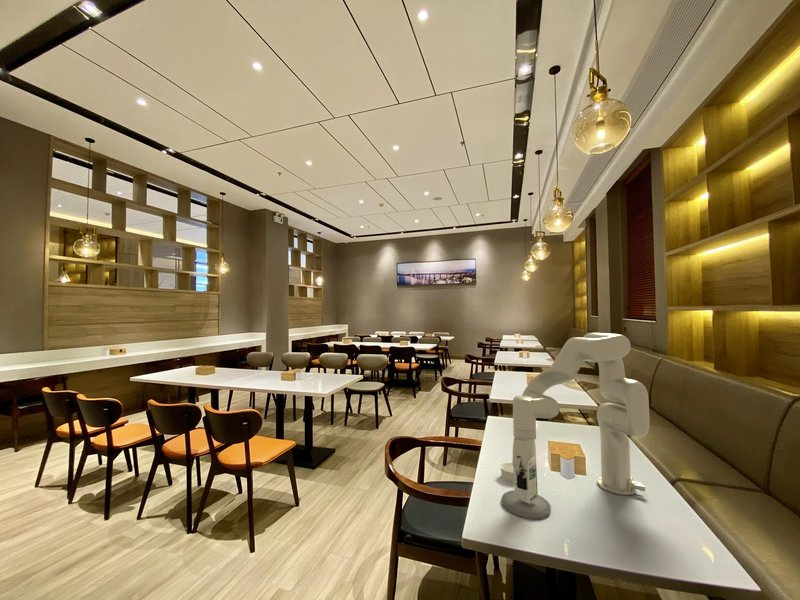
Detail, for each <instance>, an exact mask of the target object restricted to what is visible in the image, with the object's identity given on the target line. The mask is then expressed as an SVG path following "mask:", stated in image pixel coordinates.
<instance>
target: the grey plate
mask: <svg viewBox="0 0 800 600" xmlns="http://www.w3.org/2000/svg"><path fill="white" fill-rule="evenodd" d="M501 505H502V507H503V508H504V510H506V511H507V512H508V513H510V514H512V515H513V516H515V517H519V518H521V519H526V520H534V521H535V520H536V521H539V520H544V519H546V518H548V517H549V516H550V515H551V514H552V508H551V507H552V506H551V504H550V502H549V501H548V500H547V499H545V498H544V496H541V495H539V494H538V498H536V499H535V500H534V501H533V502H531V503H530V504H529V503H526V502H524V501H522V500H519V499H517V498H515V492H514V490H510V491H509V490H508V491H507V492H505V493H503V494H502V495H501Z"/></svg>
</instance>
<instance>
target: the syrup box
mask: <svg viewBox="0 0 800 600" xmlns="http://www.w3.org/2000/svg"><path fill="white" fill-rule="evenodd" d="M521 467H522V468H524V466H522V465H521ZM520 471H521V472H522V473H523V470H522V469H520ZM537 472H538V469H537V455H536V456H533V457H532V458H531V459H530V460H529V462H528V469H526V476H525V478H527V490H523V489H520V488H518V487H517V476H516V472H515V467H514V482H513V484H514V492H515V498H517V499H519V500H522V501H524V502H526V503H529V504H530V503H531V502H533V501H534V500H535V499H536V498H538V495H539V493H538V474H537Z"/></svg>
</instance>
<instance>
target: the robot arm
mask: <svg viewBox="0 0 800 600" xmlns="http://www.w3.org/2000/svg"><path fill="white" fill-rule="evenodd" d="M631 346H632V345H631V342H630V340H629V338H627V336H625V335H623V334H620V333H619V334H618V333H609V332H608V333H607V332H588V333H586V334H584V335H583V337H582V336H581V337H580V336H579V337H575V336H574V337H571V338H569V339H567V340H566V342H565V343H564V344H563V346H562V348H561V350H560V352H559V353H558V355H557V356H556V358H555V359H554V361H553V363H552V364H551V365H550V367H548V368H547V369H545V370H543V371H542V372H540V373H539V374H537V375H536V376H534V377H533V378H532V379H531V380H530V381H529V383H528V385H527V386H526V388H525V389H524V390H523V393H522V395H516V396H514V397H513V399H512V423H513V425H512V426H513V427H512V429H513V434H512V435H513V443H512V461H511V463H513V466H514V467H515V472H516V476H517V487H518V488H520V489H523V490H527V478H525V476H526V469H528V462H529V460H530V459H531V458H532V457H533V456H536V457H537V451H536V448H537V447H536V440H537V422H536V421H537V419H553V418H555V417H557V415H558V414H559V413H560V405H559V402H558V401H557V400H556V399H555V398H553V397H551V396H549V395H548V396H547V395H545V394H544V393H545V392H546V391H547V390H549V389H550V388H551V387H552V388H553V387H555V386H559V385H562V384H566V383H569V382H572V381H573V380H574V379H575V377H576V375H577V374H578V372H579V371H580V369H581V367H582V366H583V364H584V363H585V362H590V363H597V364H598V373H599V374H598V375H599V392H600V395H601V396H602V397H603V398H605V399H607V400H609V401H612V402H604V403H602V404H600V405H598V407H597V410H596V419H597V423H598V427H599V434H600V470H601V471H600V472H601V476H599V477H598V478H597V479H596V483H597V485H598V486H599V487H600V488H602V490H605V491H607V492H609V493H613V494H616V495H620V496H632V495H633V496H634V495H635V494H636V493H637V490H638V491H640V492H644V493H645V492H646V486H645V485H643V483H642V482H639V481H635V480H634V479H633V478H634V477H633V476H631V475H632V474H631V452H630V451H631V444H630V439H629V437H628V435H629V436H632V437H635V438H642V437H645V436H646V435H647V434H648V432H649V431H650V425H651V424H650V422H651V421H650V418H651V417H650V402H649V393H648V390H647V388H646V386H645V385H644V384H643V383H642V382H640V381H639V380H636V379H631V378H627V377H626V373H625V371H626V370H625V364H624V361H623V358H624V357H626V356H627V355H628V354H629V353H630V351H631ZM613 402H616V403H613ZM617 403H618V404H617ZM619 403H620V404H621V405H620V404H619ZM622 404H623V405H622ZM624 405H625V406H624ZM521 465H522V466H524V468H522V467H521ZM520 469H522V470H523V473H522V472H521V471H520Z"/></svg>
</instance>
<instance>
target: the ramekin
mask: <svg viewBox="0 0 800 600" xmlns="http://www.w3.org/2000/svg"><path fill="white" fill-rule="evenodd" d="M499 467H500V474H501V477H502V479H503V480H504V481H506V482H510V483H514V466H513V463H512V462H503V463H501V464H500V466H499Z"/></svg>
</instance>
